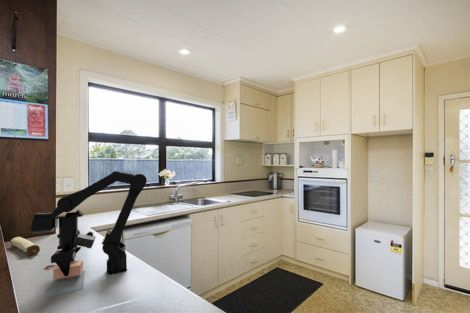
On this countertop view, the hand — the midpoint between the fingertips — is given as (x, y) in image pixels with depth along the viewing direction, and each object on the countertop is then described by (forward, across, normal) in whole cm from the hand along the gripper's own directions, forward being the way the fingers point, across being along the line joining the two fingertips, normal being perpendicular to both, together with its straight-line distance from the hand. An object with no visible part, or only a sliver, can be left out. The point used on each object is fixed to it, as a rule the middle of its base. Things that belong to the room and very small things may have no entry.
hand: (68, 272), depth 89 cm
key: (+3, +10, +8) cm, 13 cm away
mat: (+2, -4, 0) cm, 5 cm away
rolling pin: (+3, +45, +28) cm, 53 cm away
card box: (0, 0, 0) cm, 0 cm away
